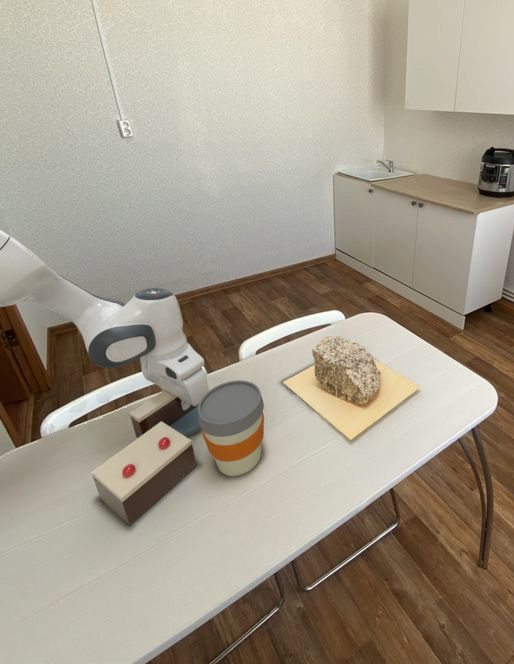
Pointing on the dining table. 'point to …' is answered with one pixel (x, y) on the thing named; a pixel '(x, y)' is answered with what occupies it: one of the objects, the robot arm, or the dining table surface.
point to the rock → (349, 385)
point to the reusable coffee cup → (233, 425)
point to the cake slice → (157, 412)
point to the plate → (187, 423)
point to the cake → (144, 471)
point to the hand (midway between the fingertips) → (178, 403)
